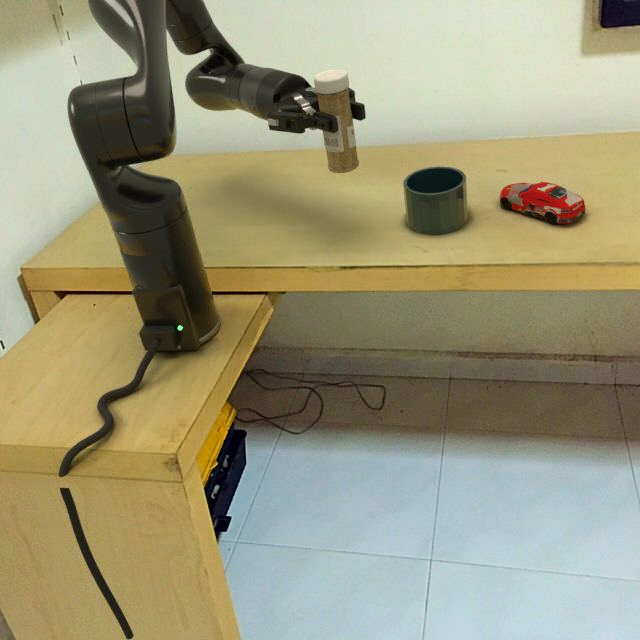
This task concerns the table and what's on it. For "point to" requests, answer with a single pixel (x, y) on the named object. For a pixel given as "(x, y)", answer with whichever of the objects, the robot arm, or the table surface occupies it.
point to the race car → (543, 201)
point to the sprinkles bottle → (337, 103)
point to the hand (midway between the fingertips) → (349, 118)
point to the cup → (436, 200)
